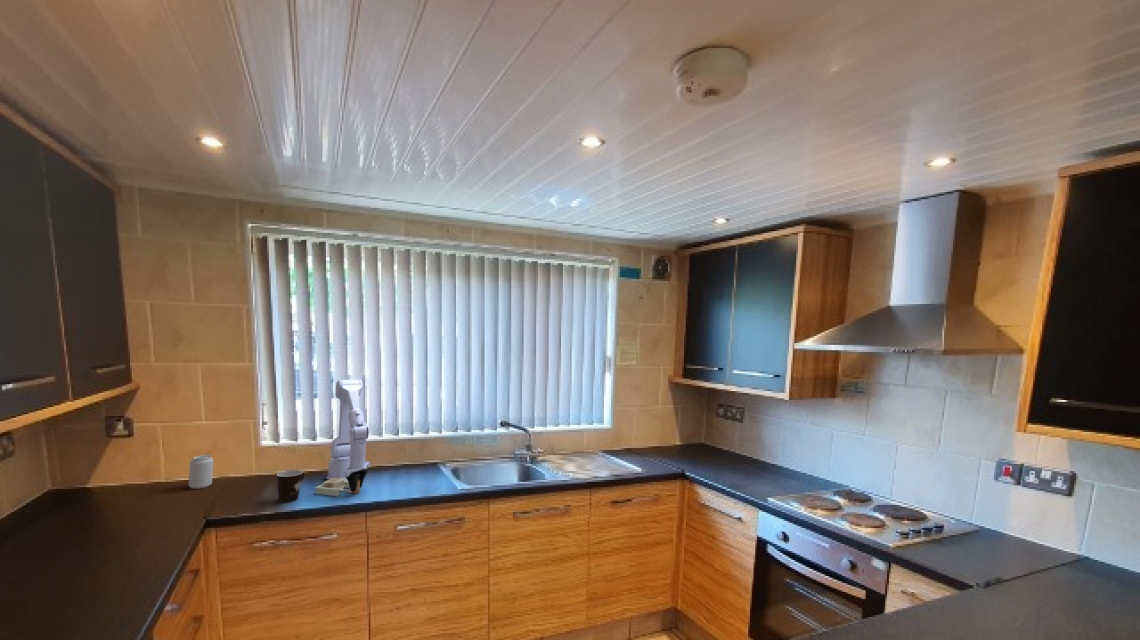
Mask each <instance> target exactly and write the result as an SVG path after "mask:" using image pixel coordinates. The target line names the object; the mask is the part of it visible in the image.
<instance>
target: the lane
mask: <svg viewBox="0 0 1140 640" xmlns="http://www.w3.org/2000/svg"><path fill="white" fill-rule="evenodd" d="M345 488H346V489H350V487H349V483H348V480H346V481H345V480H344V489H345ZM314 490H315V491H314V494H315V495H324V496H333V497H339V496H341V492H340V489H336V488H327V487H323V483H322V484H320V485H318V486H315V489H314Z"/></svg>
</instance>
